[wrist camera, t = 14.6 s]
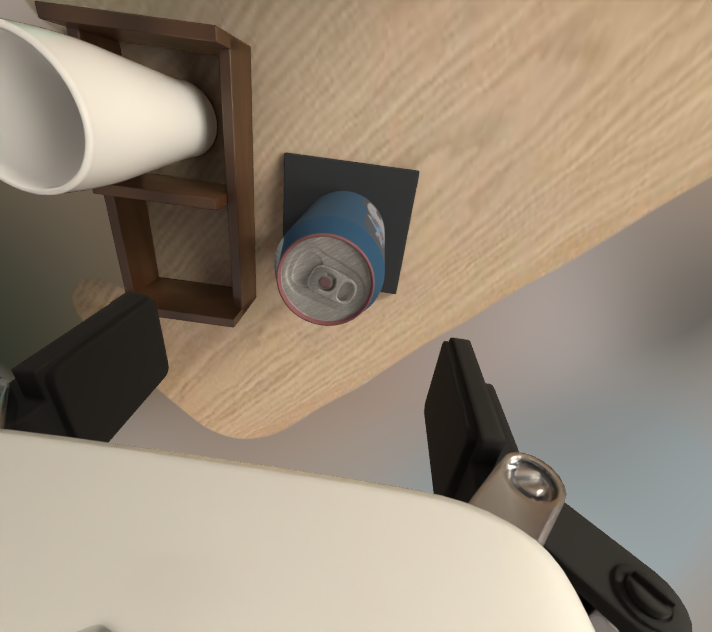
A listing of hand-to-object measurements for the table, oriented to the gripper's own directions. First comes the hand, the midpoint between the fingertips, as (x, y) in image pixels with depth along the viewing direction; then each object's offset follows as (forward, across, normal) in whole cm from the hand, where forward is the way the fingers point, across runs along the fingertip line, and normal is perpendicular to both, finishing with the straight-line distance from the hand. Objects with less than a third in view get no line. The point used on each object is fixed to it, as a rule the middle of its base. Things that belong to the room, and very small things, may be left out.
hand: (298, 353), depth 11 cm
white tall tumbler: (+22, +14, -5) cm, 26 cm away
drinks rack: (+22, +14, 0) cm, 26 cm away
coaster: (+22, +1, +2) cm, 22 cm away
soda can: (+21, +1, +2) cm, 21 cm away
